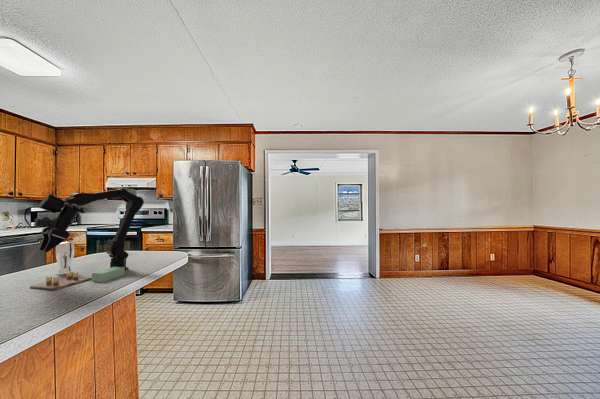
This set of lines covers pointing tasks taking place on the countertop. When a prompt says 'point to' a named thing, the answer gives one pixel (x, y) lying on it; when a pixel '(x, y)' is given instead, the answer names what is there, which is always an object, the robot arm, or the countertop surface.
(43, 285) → the walnut base plate
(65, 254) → the beer glass
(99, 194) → the robot arm
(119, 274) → the green board
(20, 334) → the countertop surface
